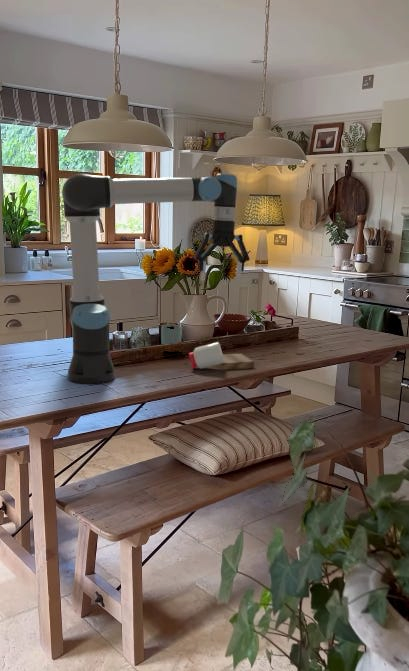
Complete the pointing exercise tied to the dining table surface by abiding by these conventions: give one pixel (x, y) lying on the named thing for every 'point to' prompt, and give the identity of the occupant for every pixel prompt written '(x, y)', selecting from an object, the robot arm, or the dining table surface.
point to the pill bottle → (206, 356)
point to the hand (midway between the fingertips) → (220, 280)
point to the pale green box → (170, 334)
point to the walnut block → (236, 362)
